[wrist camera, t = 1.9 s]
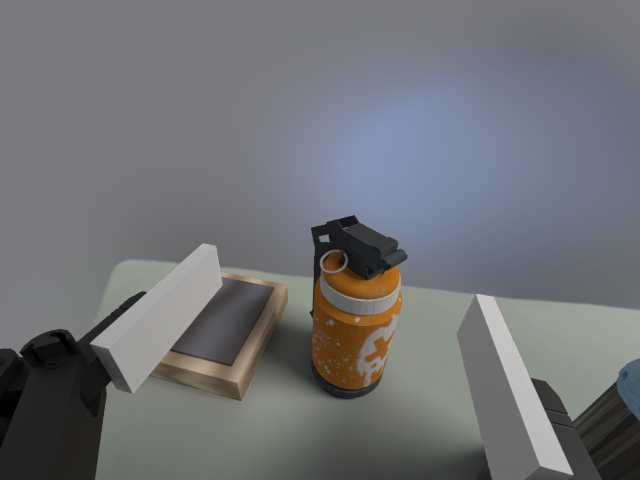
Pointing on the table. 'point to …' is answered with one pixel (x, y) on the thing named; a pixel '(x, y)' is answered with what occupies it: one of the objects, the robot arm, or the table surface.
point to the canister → (353, 305)
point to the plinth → (226, 337)
